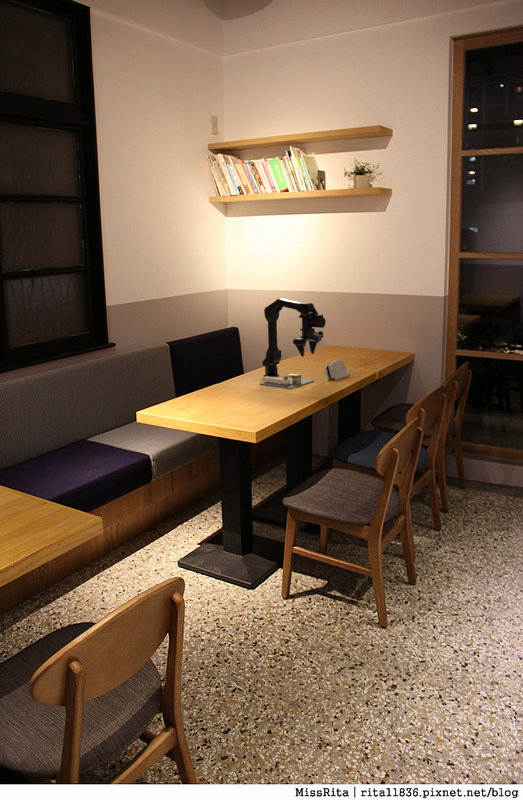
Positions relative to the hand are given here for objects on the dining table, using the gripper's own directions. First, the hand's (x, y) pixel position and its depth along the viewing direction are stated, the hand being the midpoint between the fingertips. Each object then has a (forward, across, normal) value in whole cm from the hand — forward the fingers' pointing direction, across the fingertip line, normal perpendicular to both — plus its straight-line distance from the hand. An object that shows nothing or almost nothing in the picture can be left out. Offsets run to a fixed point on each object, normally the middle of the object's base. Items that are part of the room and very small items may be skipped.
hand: (307, 355), depth 369 cm
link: (+13, -14, +10) cm, 22 cm away
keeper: (+14, -9, +2) cm, 17 cm away
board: (+14, -9, +7) cm, 18 cm away
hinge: (+15, +17, -7) cm, 24 cm away
